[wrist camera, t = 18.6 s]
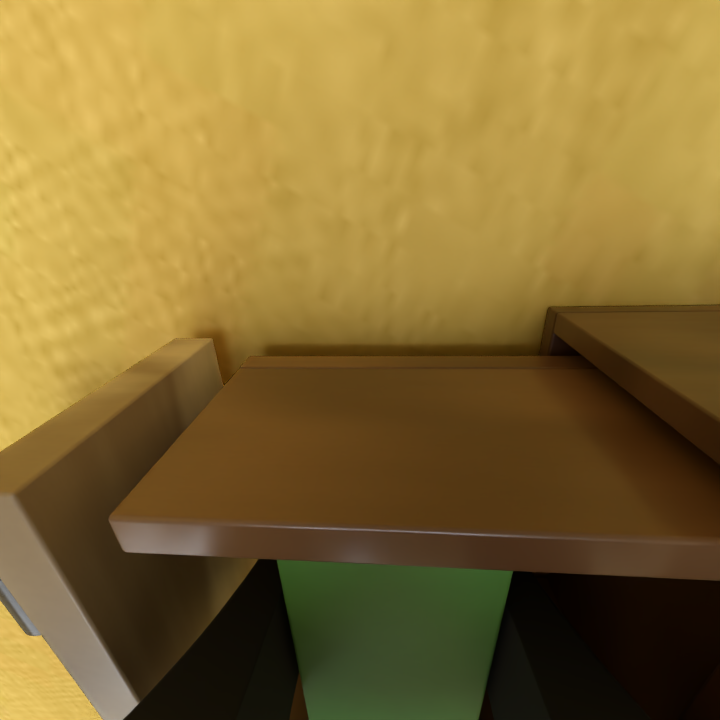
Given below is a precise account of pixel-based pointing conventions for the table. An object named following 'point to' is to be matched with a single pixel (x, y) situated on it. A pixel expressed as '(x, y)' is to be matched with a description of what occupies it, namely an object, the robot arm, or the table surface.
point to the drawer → (358, 505)
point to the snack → (393, 638)
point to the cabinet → (655, 383)
